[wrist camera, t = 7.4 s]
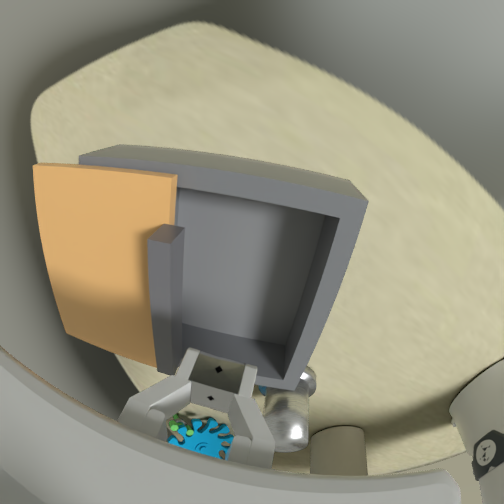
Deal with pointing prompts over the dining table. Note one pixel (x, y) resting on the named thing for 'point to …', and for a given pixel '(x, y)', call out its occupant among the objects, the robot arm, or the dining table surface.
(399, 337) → the dining table surface
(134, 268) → the lid
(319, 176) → the housing
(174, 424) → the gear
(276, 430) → the silver rounded cylinder
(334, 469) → the travel mug
